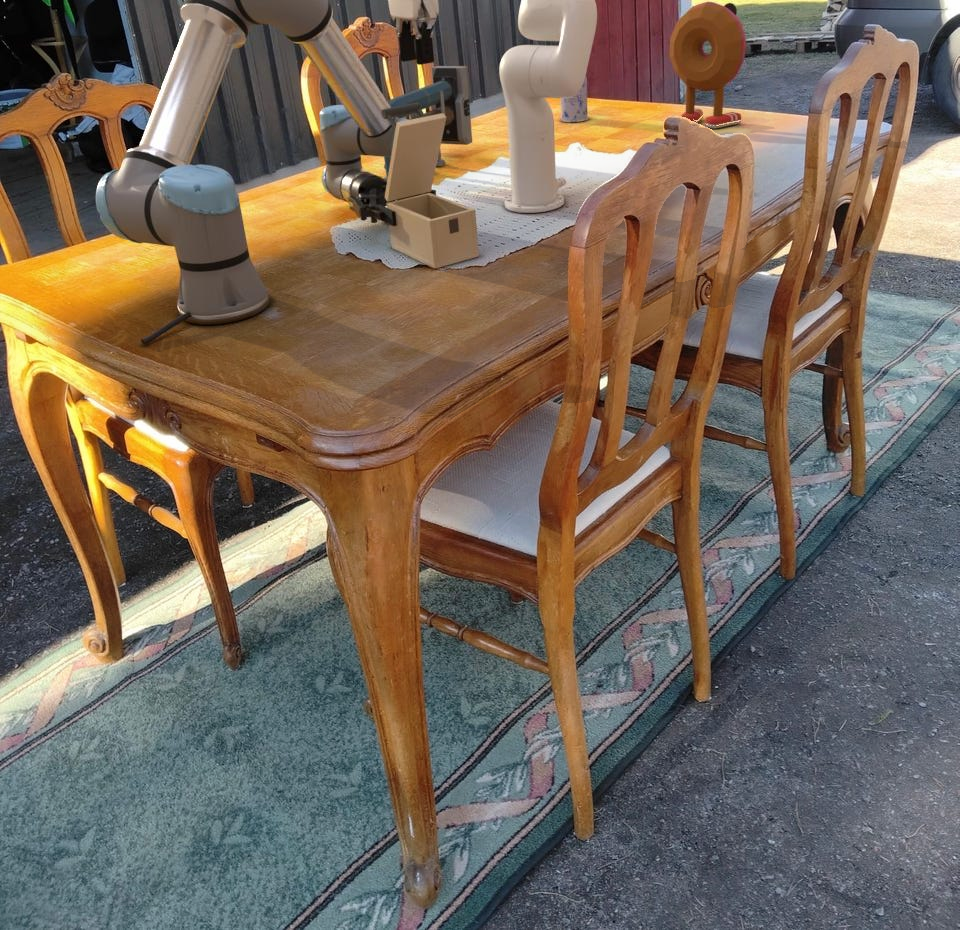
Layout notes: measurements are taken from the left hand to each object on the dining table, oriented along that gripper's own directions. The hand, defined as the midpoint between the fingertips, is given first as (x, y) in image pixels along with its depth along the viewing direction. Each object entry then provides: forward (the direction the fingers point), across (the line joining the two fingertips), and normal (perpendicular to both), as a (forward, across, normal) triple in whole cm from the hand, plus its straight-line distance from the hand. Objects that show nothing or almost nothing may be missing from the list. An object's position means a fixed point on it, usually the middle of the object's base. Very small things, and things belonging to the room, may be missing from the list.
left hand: (418, 213), depth 185 cm
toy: (-35, -108, -6) cm, 113 cm away
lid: (+1, 0, +10) cm, 10 cm away
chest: (+5, 0, -6) cm, 8 cm away
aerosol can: (-69, -89, -7) cm, 113 cm away
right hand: (+6, 0, +28) cm, 28 cm away
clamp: (-52, -29, -6) cm, 60 cm away
